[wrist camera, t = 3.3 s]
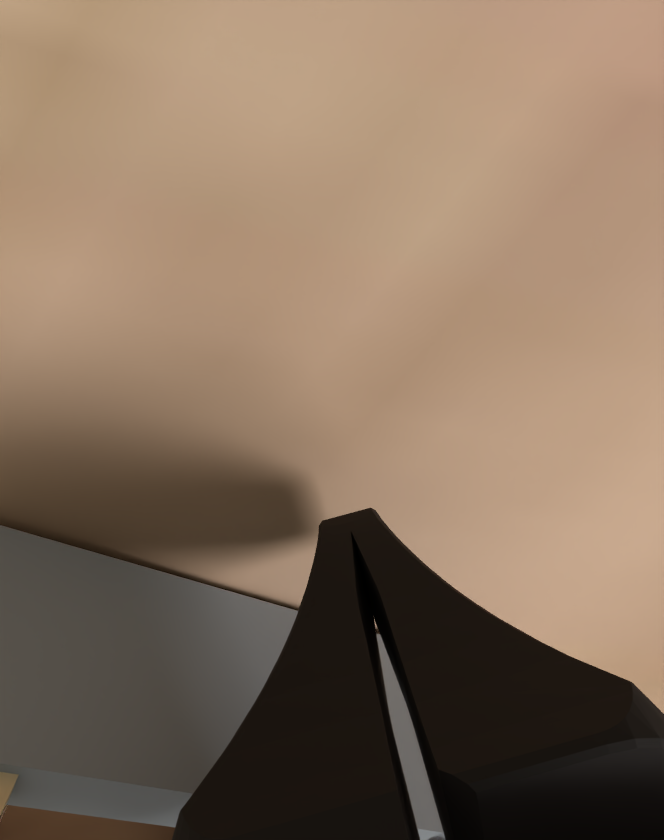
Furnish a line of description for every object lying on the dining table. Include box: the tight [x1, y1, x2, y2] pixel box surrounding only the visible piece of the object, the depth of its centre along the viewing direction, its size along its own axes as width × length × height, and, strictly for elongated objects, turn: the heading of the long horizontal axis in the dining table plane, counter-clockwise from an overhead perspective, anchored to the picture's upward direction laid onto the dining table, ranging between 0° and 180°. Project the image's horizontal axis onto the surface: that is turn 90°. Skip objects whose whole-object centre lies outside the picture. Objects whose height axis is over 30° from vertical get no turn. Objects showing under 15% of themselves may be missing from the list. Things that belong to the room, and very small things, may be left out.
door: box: [0, 525, 446, 840], centre depth 10 cm, size 13×1×6 cm, turn 63°
